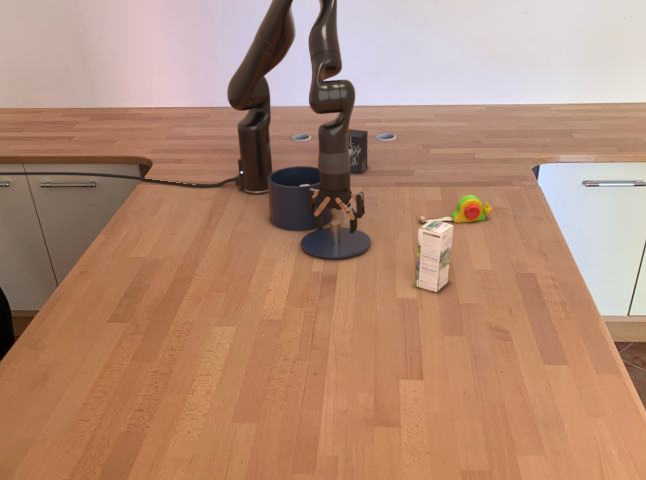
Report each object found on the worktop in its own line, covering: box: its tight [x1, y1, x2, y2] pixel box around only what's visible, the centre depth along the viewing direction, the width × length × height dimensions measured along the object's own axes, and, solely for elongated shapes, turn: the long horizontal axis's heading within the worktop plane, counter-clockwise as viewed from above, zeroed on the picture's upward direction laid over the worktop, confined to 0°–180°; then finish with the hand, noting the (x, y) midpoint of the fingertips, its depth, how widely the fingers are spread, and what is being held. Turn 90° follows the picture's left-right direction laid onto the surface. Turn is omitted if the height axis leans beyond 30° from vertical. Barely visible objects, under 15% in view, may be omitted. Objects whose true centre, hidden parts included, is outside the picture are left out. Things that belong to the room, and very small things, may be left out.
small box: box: [348, 128, 369, 175], centre depth 225 cm, size 13×7×12 cm, turn 68°
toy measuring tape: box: [419, 194, 493, 224], centre depth 189 cm, size 6×19×7 cm, turn 95°
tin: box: [267, 165, 332, 232], centre depth 192 cm, size 17×17×12 cm
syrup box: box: [414, 220, 454, 293], centre depth 157 cm, size 6×6×14 cm
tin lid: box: [300, 220, 371, 260], centre depth 178 cm, size 18×18×6 cm
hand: (336, 230), depth 177 cm, fingers open, 8 cm apart
